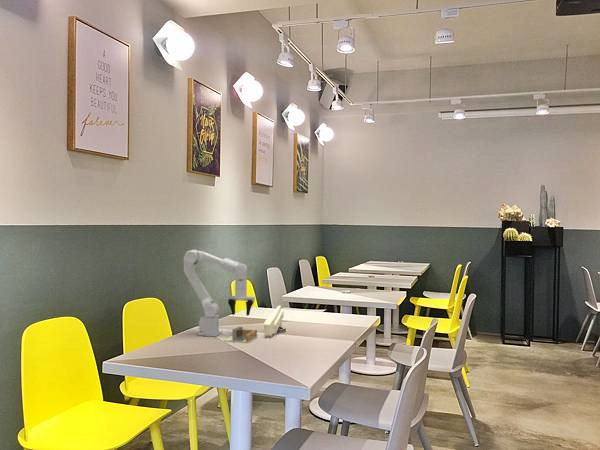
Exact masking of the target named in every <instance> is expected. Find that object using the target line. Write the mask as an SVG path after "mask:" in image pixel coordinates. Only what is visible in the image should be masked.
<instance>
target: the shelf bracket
mask: <svg viewBox="0 0 600 450" xmlns="http://www.w3.org/2000/svg"><path fill="white" fill-rule="evenodd" d="M283 319H284V310H283V309H282V305H278V306H276V308H274V310H273V311H272V312H271V313H270V314H269V315H268V317H267V318H266V320H264V322H263V332H264V333H263V335H264V336H267V337H270V336H273V335H274V336H275V335H276V334H277V332H278V330H279V327H282V328H283V325H282V323H283V322H282V321H283Z"/></svg>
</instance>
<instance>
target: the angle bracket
mask: <svg viewBox="0 0 600 450" xmlns="http://www.w3.org/2000/svg"><path fill="white" fill-rule="evenodd" d="M243 329H244V328H243V326H237V327H236V328H233V329H232V335H231V336H232V341H244V340H245V339H246V335H243Z"/></svg>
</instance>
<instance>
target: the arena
mask: <svg viewBox="0 0 600 450" xmlns="http://www.w3.org/2000/svg"><path fill="white" fill-rule="evenodd" d="M243 335H246V339H245V340H244V341H232V335H231V336H229V337H227V338H226V339H224V340H223V342H227V343H228V342H229V343H243V344H249V343H251V342H252V341H254V340H255V339H257V338H258V337H257V335H258V330H256V329H244V328H243Z"/></svg>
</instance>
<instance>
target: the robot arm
mask: <svg viewBox="0 0 600 450" xmlns="http://www.w3.org/2000/svg"><path fill="white" fill-rule="evenodd" d="M202 261H207V262H210V263H212V264H215V265H218V266H220V269H222V270H225V271H228V272H230V273H232V274H234V273H235V279H234V280H235V281H234V290H235V291H234V292H235V293H234V295H227V296H226V301H227V303H228V305H229V308H230V310H231V315H232V316H234V315H236V302H237V301H242V302H243V301H244V302H245V306H246V311H245V312H246V313H245V314H246V317H247V316H250V313H251V309H252V307H253V305H254V302H256V297H255V296H248V295H247V287H248V286H247V284H248V279H247V277H248V276H247V272H248V267H247V265H246V264H244V263H243V262H242V263H240V261H235V260H232V259H231V257H228V258H227V257H225V258H220V257H217V256H215V255H213V254H210V253H209V252H208V253H207V252H205V251H202V250H199V249H190V250H188V251H186V252H185V254H184V257H183V273H184V274H185V276H186V278H187V280H188V281H189V283H190V286H191V287H192V288H193V290H194V292H195V294H196V295H197V297H198V299H199V300H200V302H201V306H202V308H203V313H204V316H200V318H199V321H198V336H203V337H204V336H206V337H207V336H208V337H217V336H219V335H221V334H223V333H222V332H221V331H220V315H219V314H218V313H219V311H220V306H219V304H218V302H215V301H214V299H213V298H212V296H210V294H209V292H208V291H207V288H206V287H205V286H204V284H203V282H202V281H201V279H200V276H199V275H198V273H197V272H196V270H195V268H196V266H197V264H198V262H202Z"/></svg>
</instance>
